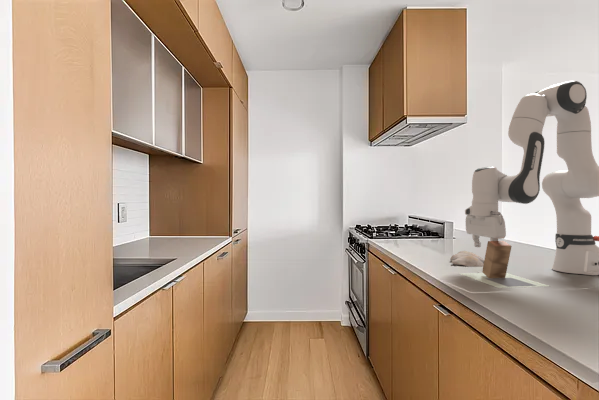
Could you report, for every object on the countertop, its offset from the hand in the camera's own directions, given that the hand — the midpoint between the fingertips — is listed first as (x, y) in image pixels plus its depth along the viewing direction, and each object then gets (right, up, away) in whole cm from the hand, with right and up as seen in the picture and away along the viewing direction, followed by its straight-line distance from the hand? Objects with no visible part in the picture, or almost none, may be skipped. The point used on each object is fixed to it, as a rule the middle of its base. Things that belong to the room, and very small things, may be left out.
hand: (484, 248), depth 151 cm
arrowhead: (+7, -10, +32) cm, 35 cm away
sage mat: (+1, -10, -10) cm, 14 cm away
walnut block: (+1, -9, -5) cm, 10 cm away
